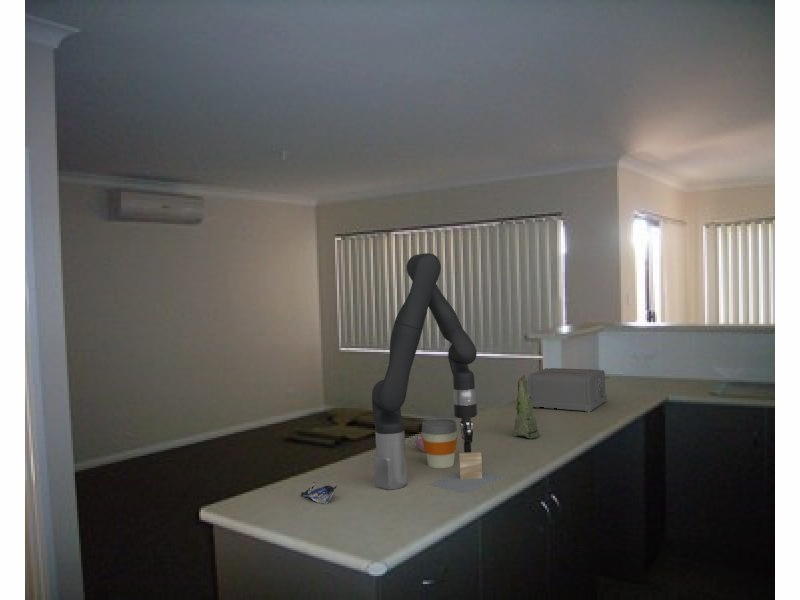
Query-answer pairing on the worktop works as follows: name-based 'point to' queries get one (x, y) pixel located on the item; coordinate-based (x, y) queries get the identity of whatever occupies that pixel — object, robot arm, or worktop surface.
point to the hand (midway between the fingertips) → (467, 453)
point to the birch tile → (470, 465)
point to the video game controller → (420, 442)
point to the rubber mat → (465, 482)
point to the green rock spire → (525, 412)
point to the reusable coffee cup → (439, 442)
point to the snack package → (319, 493)
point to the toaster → (567, 388)
